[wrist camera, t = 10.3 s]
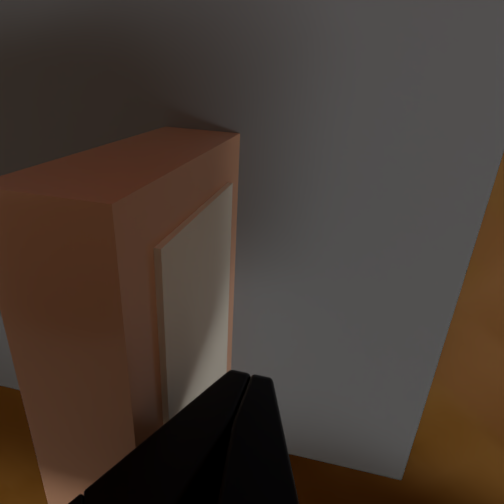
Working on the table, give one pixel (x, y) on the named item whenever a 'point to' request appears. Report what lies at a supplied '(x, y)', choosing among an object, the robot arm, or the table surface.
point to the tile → (117, 292)
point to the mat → (297, 175)
